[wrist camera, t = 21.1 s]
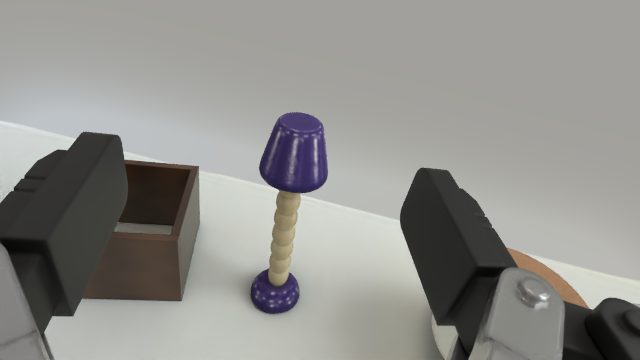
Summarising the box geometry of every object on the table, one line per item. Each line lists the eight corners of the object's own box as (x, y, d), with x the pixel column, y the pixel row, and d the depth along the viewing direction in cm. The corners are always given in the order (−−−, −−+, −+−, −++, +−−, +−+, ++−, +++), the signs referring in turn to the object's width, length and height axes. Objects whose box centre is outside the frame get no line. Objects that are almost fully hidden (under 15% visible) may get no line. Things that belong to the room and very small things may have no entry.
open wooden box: (56, 297, 29) (31, 233, 25) (100, 216, 36) (87, 156, 32) (181, 301, 31) (177, 241, 27) (199, 222, 38) (198, 166, 34)
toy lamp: (235, 286, 33) (248, 114, 23) (275, 260, 36) (300, 98, 26) (273, 324, 30) (305, 151, 21) (312, 292, 34) (355, 129, 24)
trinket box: (572, 410, 29) (657, 345, 24) (455, 441, 26) (522, 374, 20) (490, 294, 37) (540, 225, 32) (393, 306, 34) (429, 232, 28)
